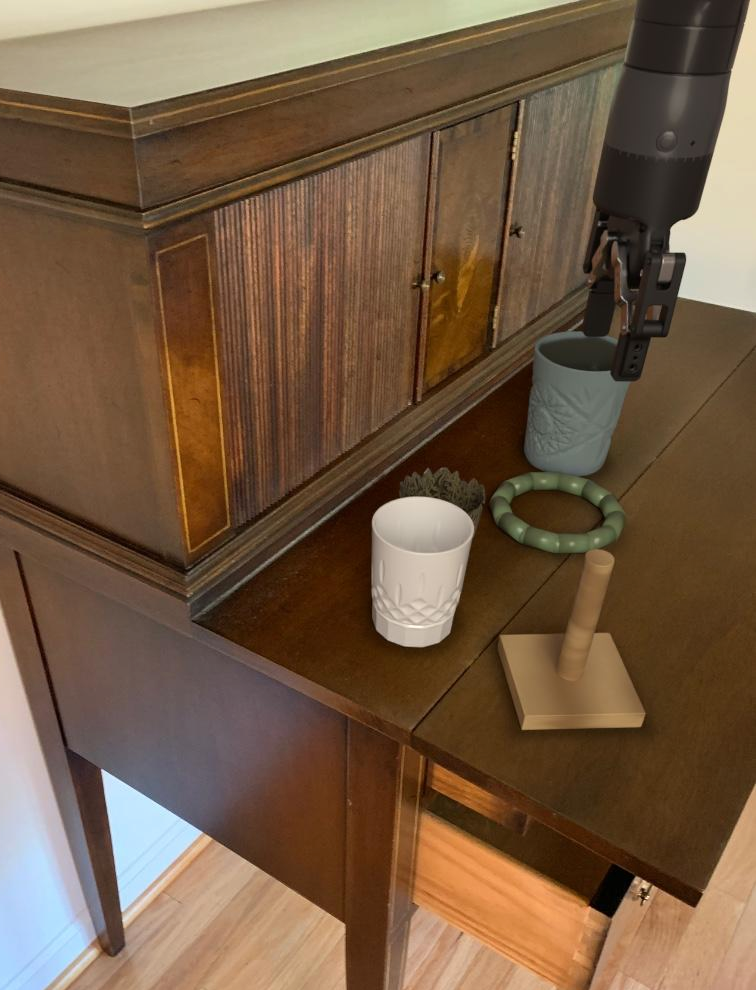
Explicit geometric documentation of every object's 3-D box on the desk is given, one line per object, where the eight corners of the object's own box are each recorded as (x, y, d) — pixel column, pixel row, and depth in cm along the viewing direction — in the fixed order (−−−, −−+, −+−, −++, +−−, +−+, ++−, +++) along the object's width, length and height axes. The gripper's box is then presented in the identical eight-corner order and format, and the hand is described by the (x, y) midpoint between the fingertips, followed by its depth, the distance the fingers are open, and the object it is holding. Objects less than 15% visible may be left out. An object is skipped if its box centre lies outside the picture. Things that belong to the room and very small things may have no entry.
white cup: (346, 613, 78) (351, 516, 72) (417, 581, 82) (428, 485, 75) (406, 666, 73) (417, 566, 67) (478, 629, 77) (495, 531, 70)
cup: (491, 564, 84) (503, 490, 78) (439, 600, 80) (449, 524, 74) (428, 530, 88) (436, 457, 83) (376, 562, 84) (381, 488, 79)
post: (605, 646, 75) (642, 519, 67) (641, 727, 68) (687, 597, 60) (497, 648, 75) (521, 521, 67) (521, 730, 68) (551, 599, 60)
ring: (600, 483, 95) (604, 468, 93) (639, 556, 85) (644, 540, 84) (479, 484, 94) (481, 469, 93) (504, 558, 84) (507, 542, 83)
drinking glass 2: (513, 472, 96) (532, 365, 88) (519, 427, 104) (537, 324, 96) (613, 485, 94) (641, 377, 87) (611, 438, 102) (637, 335, 94)
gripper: (753, 166, 59) (684, 396, 69) (677, 117, 70) (627, 321, 80) (638, 166, 59) (586, 396, 69) (580, 116, 70) (542, 321, 80)
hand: (608, 356), depth 75 cm, fingers open, 8 cm apart
